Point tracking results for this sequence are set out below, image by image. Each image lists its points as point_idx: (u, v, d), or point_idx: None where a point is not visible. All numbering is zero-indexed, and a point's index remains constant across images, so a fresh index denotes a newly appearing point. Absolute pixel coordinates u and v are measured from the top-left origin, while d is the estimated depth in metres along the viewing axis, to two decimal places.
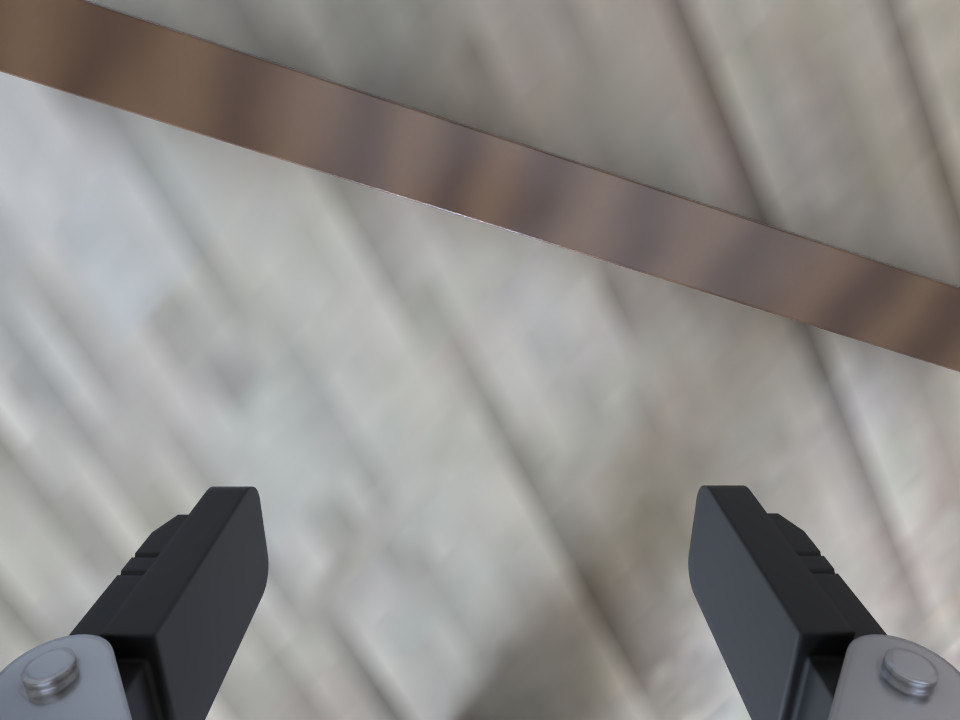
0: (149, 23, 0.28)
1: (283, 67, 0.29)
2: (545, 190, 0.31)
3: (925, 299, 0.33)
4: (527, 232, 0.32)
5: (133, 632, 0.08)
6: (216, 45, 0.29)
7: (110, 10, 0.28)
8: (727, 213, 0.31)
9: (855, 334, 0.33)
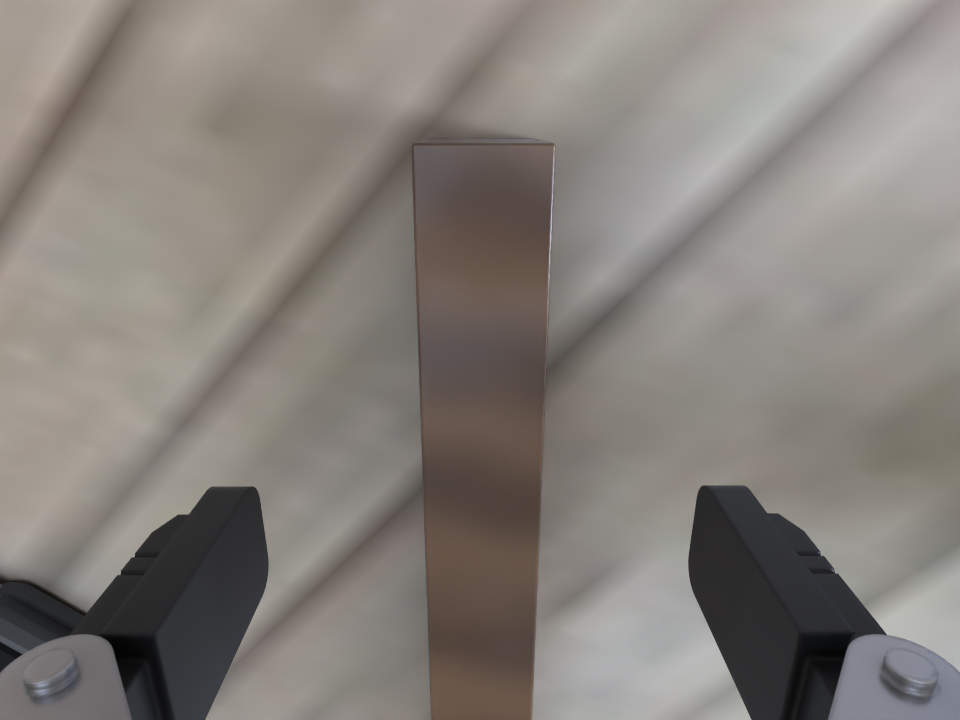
0: None
1: None
2: None
3: (451, 412, 0.21)
4: None
5: (133, 632, 0.08)
6: None
7: None
8: (431, 681, 0.25)
9: (534, 479, 0.22)
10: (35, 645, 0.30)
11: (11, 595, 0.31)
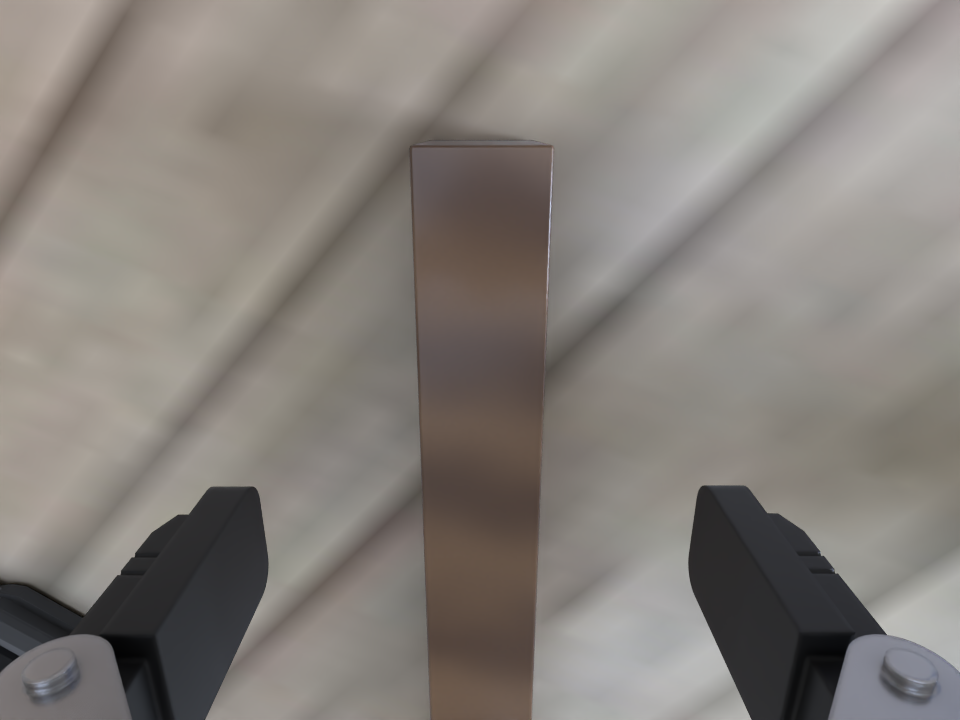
0: None
1: None
2: None
3: (450, 414, 0.21)
4: None
5: (133, 632, 0.08)
6: None
7: None
8: (430, 684, 0.25)
9: (533, 481, 0.21)
10: None
11: (10, 598, 0.31)
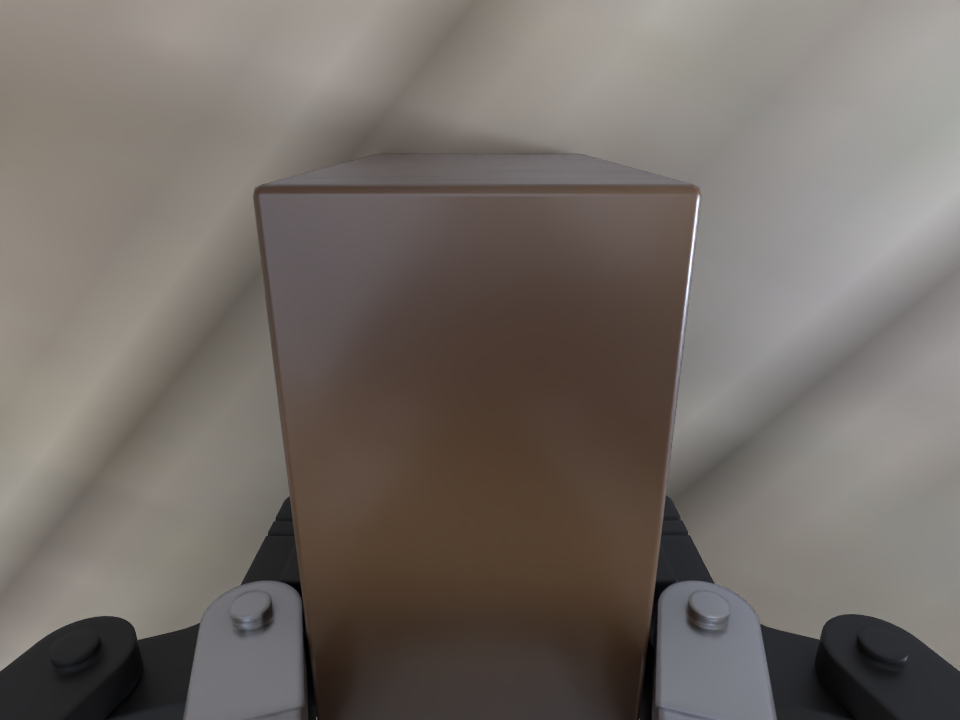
0: None
1: None
2: None
3: None
4: None
5: None
6: None
7: None
8: None
9: None
10: None
11: None
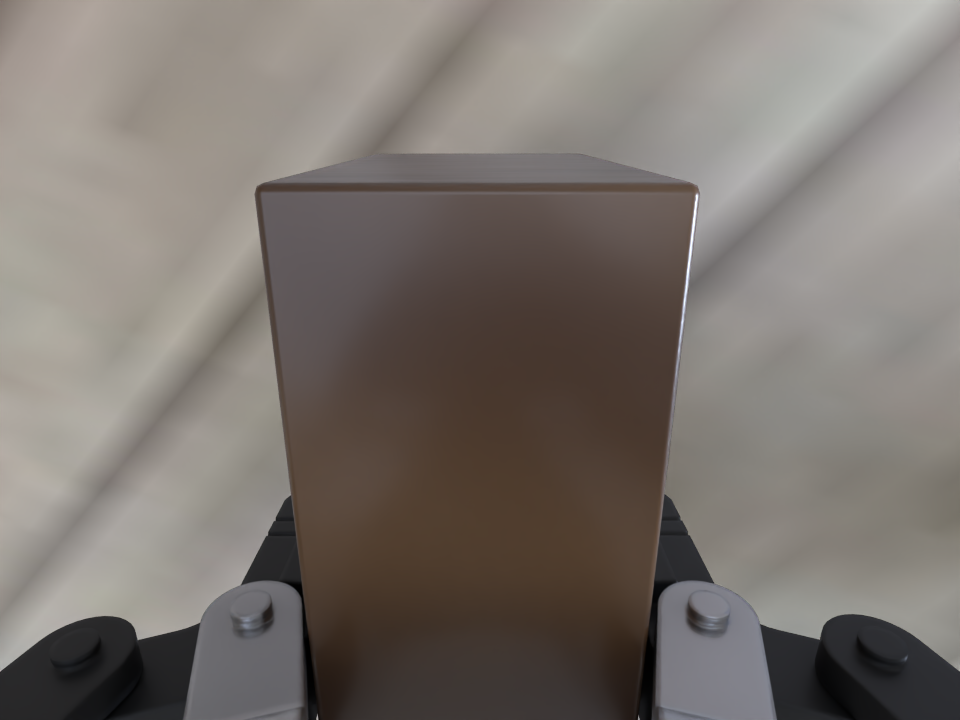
0: None
1: None
2: None
3: None
4: None
5: None
6: None
7: None
8: None
9: None
10: None
11: None
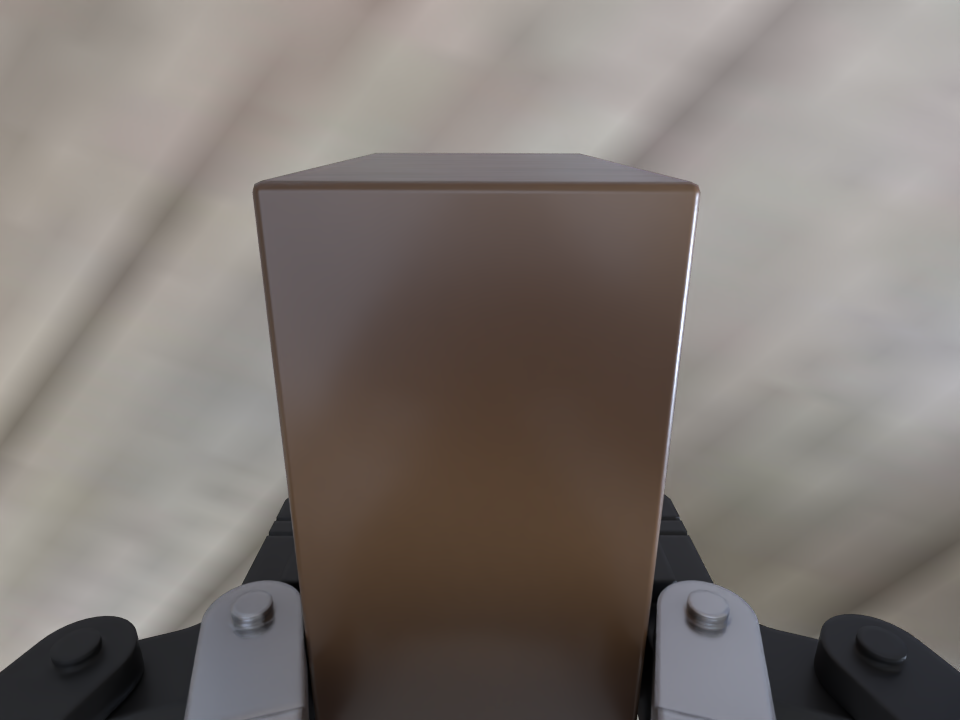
0: None
1: None
2: None
3: None
4: None
5: None
6: None
7: None
8: None
9: None
10: None
11: None
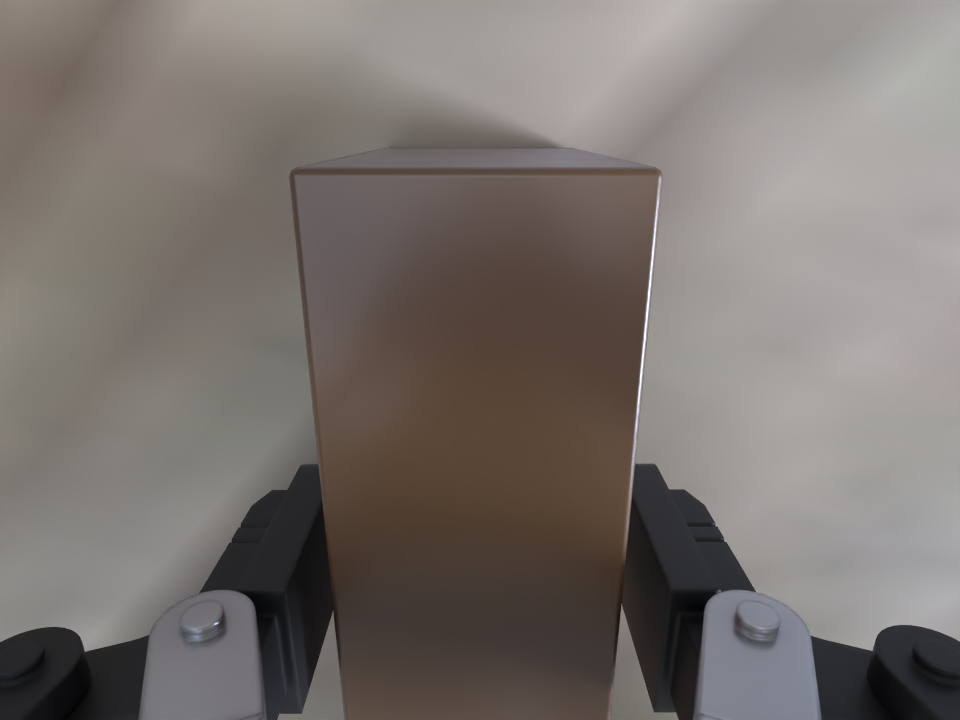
0: None
1: None
2: None
3: None
4: None
5: (263, 589, 0.08)
6: None
7: None
8: None
9: None
10: None
11: None
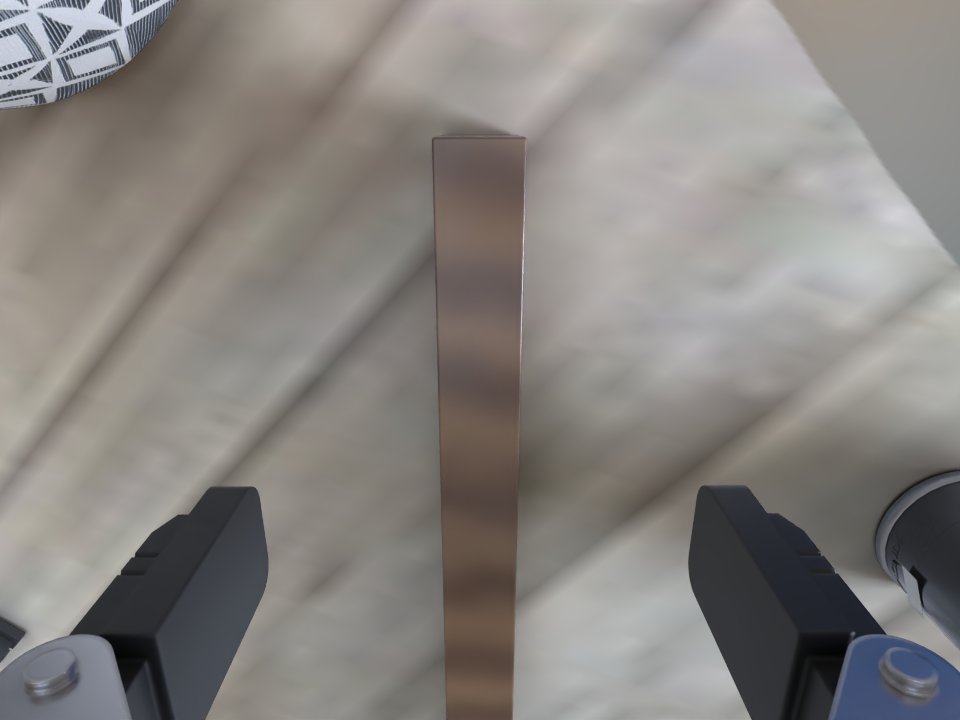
0: None
1: None
2: (473, 659, 0.37)
3: (458, 323, 0.30)
4: (510, 661, 0.37)
5: (133, 632, 0.08)
6: None
7: None
8: (443, 530, 0.34)
9: (516, 372, 0.31)
10: None
11: None
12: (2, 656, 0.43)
